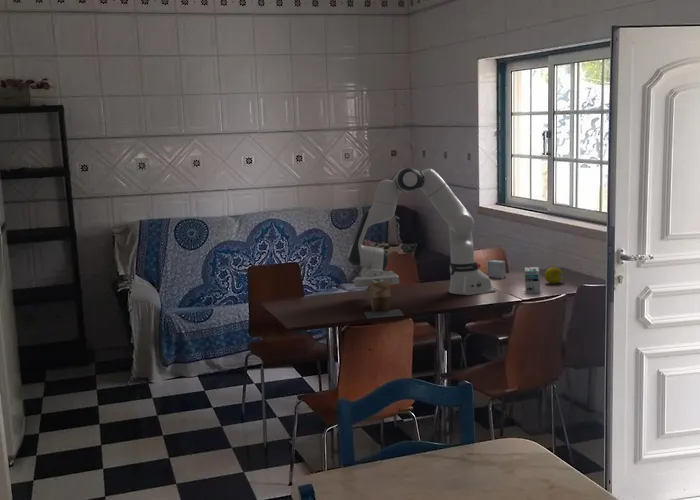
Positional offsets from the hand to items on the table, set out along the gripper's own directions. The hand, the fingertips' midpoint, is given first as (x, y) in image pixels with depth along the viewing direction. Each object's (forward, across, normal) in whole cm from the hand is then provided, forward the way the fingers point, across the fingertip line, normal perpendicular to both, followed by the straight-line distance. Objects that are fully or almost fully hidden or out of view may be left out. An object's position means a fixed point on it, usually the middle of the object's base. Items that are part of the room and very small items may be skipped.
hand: (378, 283), depth 346 cm
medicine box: (-49, +69, +11) cm, 85 cm away
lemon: (-24, +90, +11) cm, 94 cm away
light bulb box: (-10, +74, +11) cm, 76 cm away
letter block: (-1, 0, +3) cm, 3 cm away
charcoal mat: (+10, 0, +12) cm, 15 cm away
